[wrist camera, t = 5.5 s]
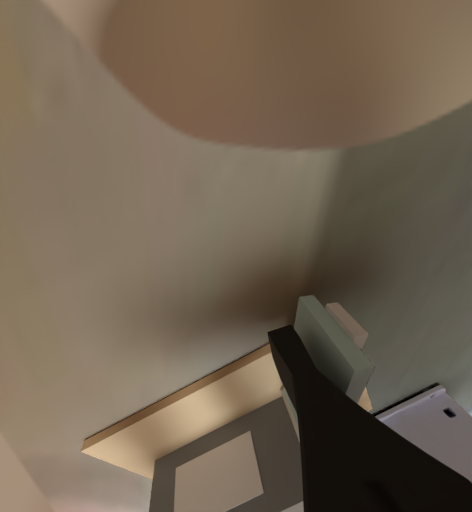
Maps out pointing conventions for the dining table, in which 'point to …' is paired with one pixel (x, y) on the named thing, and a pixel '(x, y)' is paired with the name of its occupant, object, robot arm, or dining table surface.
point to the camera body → (234, 468)
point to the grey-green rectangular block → (332, 348)
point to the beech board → (191, 414)
